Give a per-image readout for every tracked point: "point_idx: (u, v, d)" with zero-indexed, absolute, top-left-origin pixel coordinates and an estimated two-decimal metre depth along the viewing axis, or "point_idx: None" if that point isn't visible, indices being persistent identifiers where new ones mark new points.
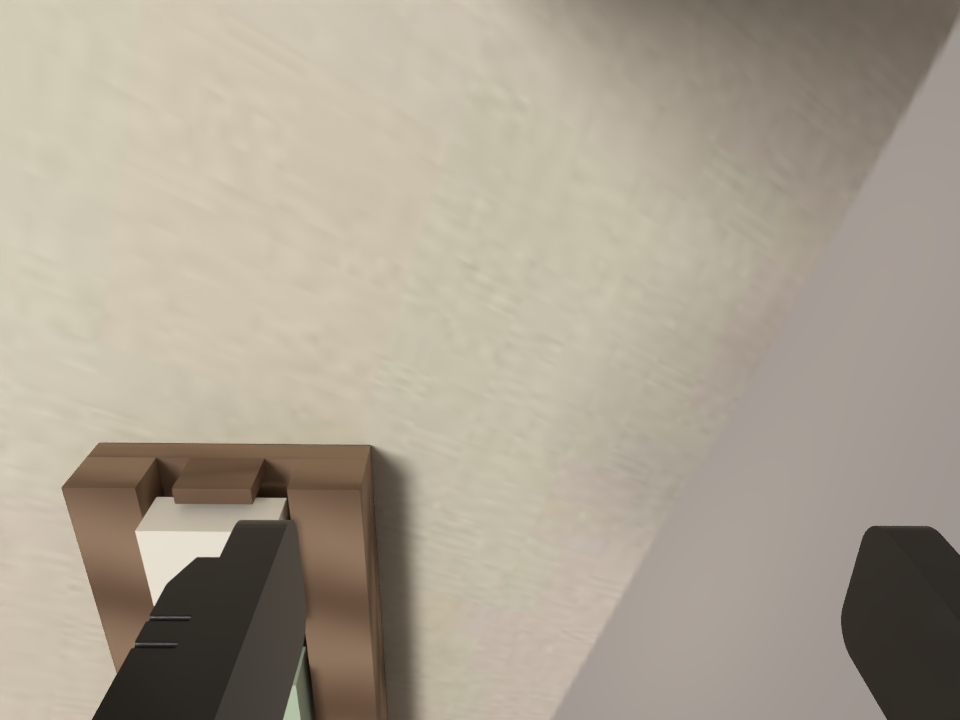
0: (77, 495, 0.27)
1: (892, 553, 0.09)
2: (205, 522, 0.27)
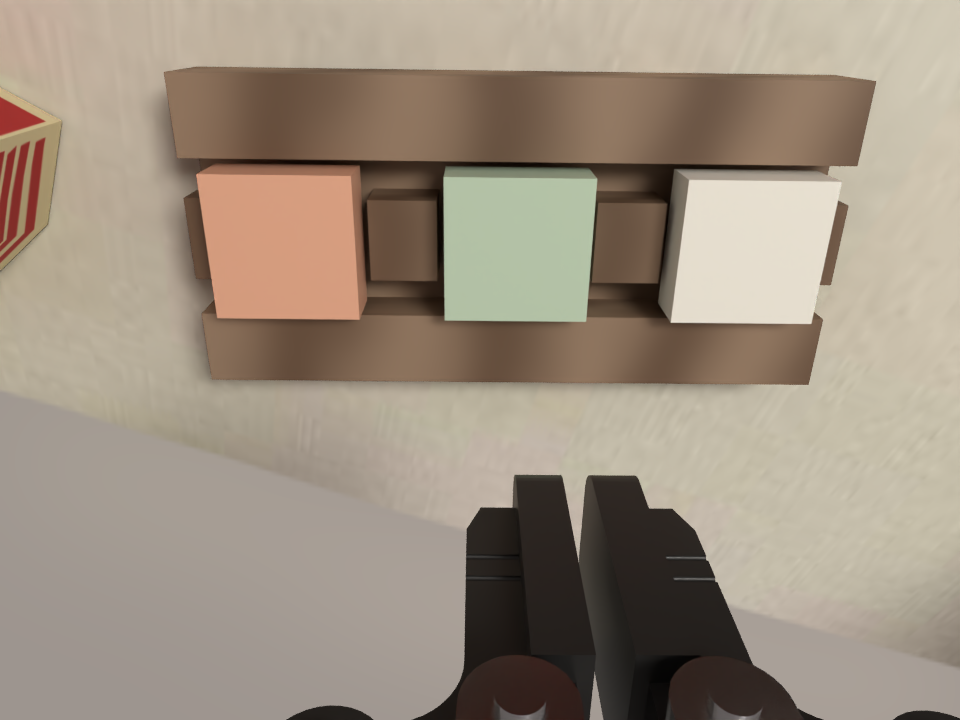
0: (860, 96, 0.24)
1: (592, 498, 0.11)
2: None
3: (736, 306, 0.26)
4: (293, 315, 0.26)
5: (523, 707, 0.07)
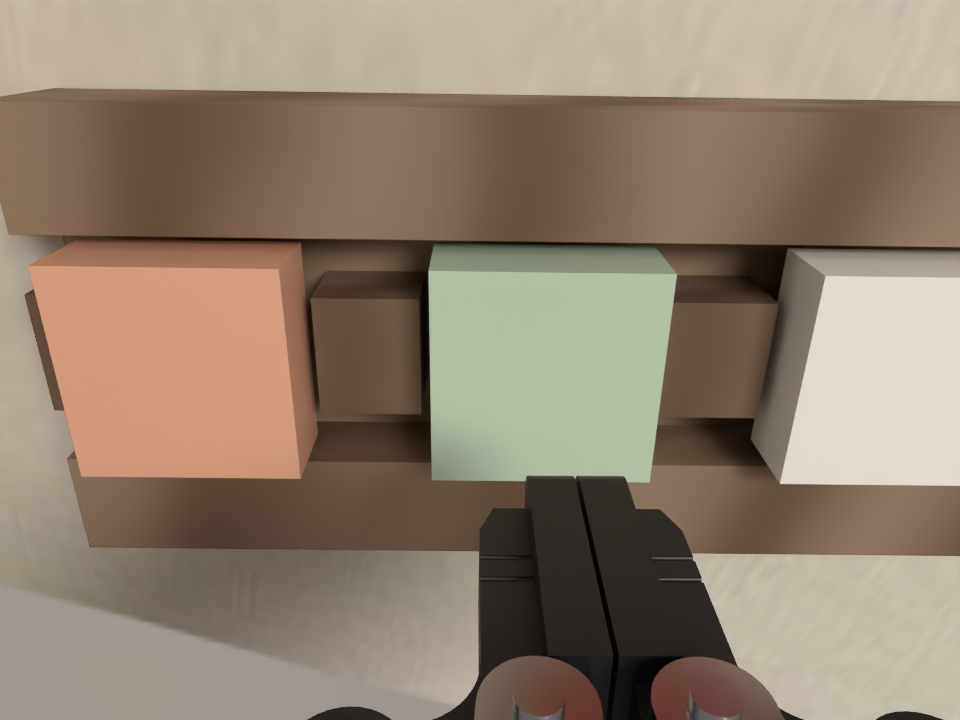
0: None
1: (580, 498, 0.10)
2: None
3: (883, 461, 0.17)
4: (198, 473, 0.17)
5: (542, 708, 0.07)
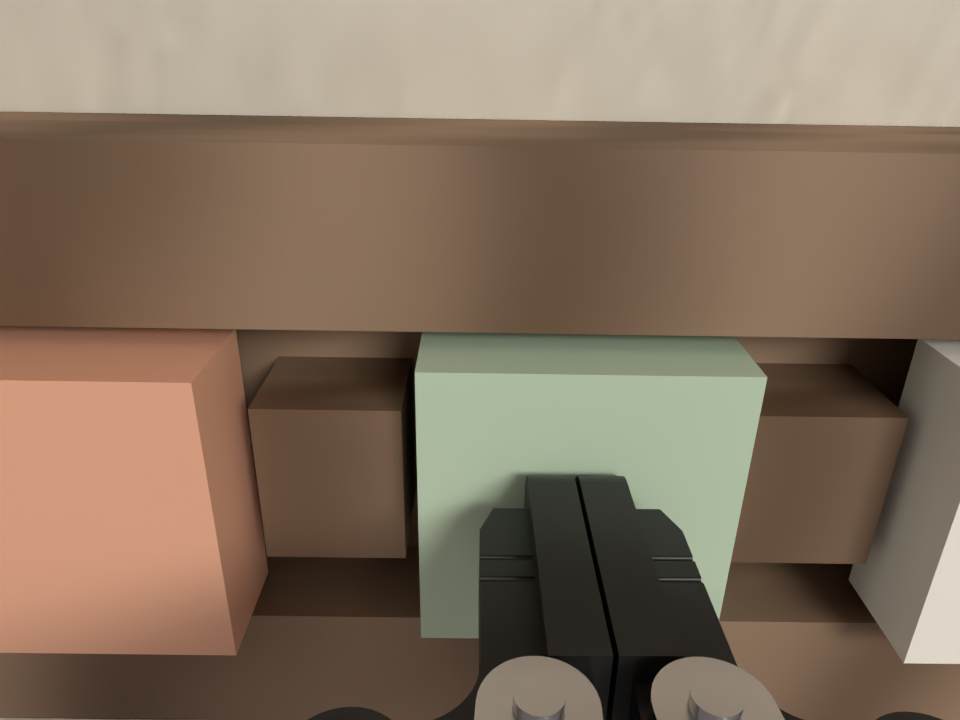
0: None
1: (580, 499, 0.10)
2: None
3: None
4: (93, 647, 0.12)
5: (542, 708, 0.07)
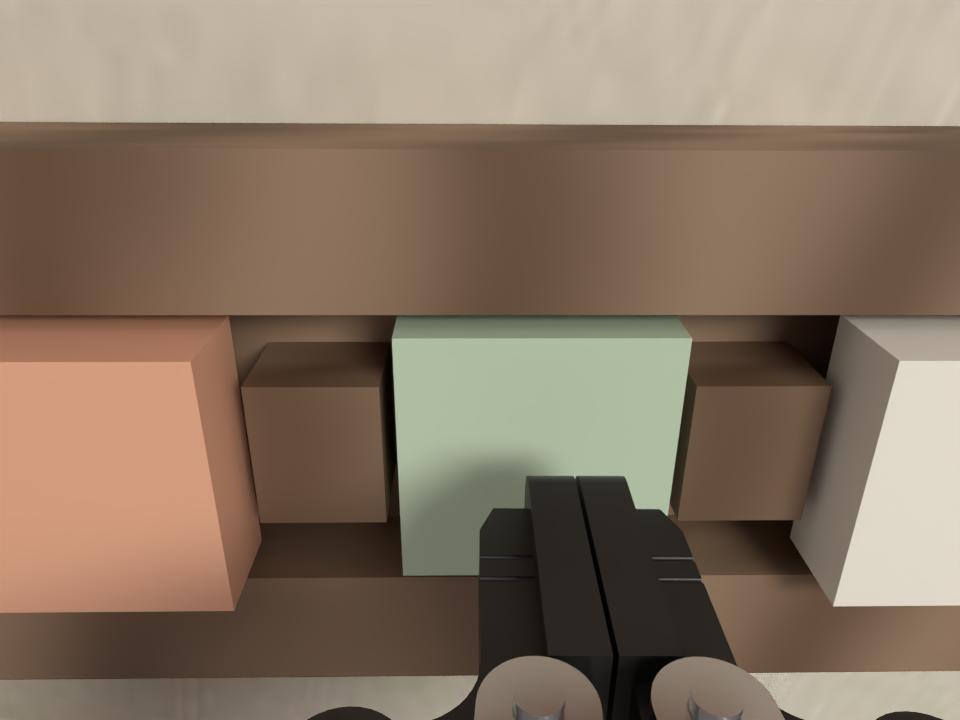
0: None
1: (580, 498, 0.10)
2: None
3: None
4: (104, 606, 0.13)
5: (542, 708, 0.07)
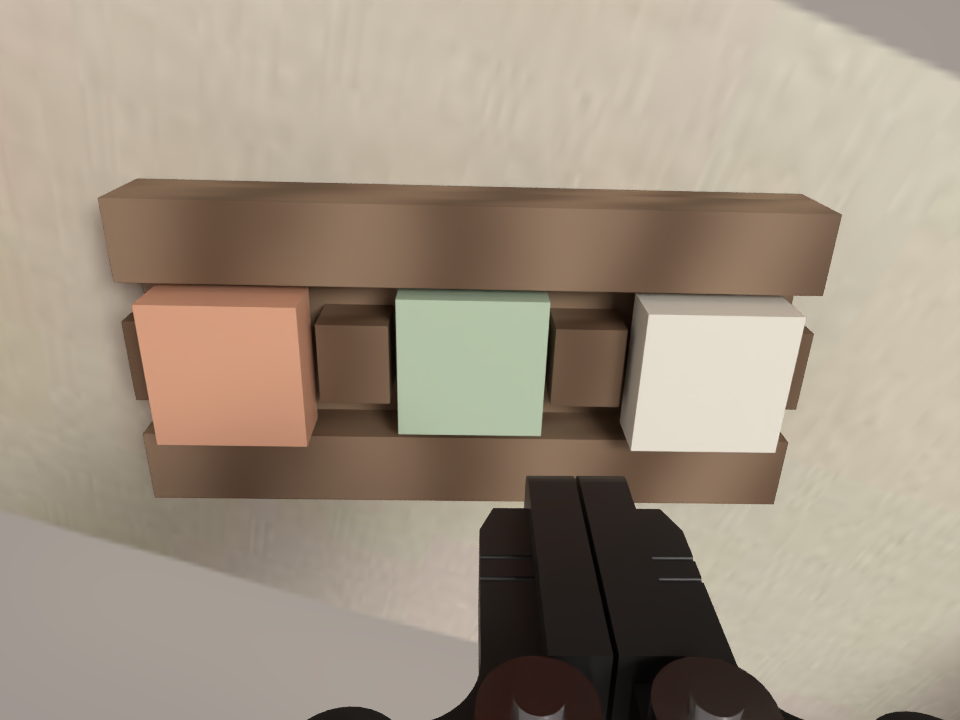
0: (825, 229, 0.23)
1: (580, 499, 0.10)
2: None
3: (698, 435, 0.25)
4: (237, 442, 0.25)
5: (542, 708, 0.07)
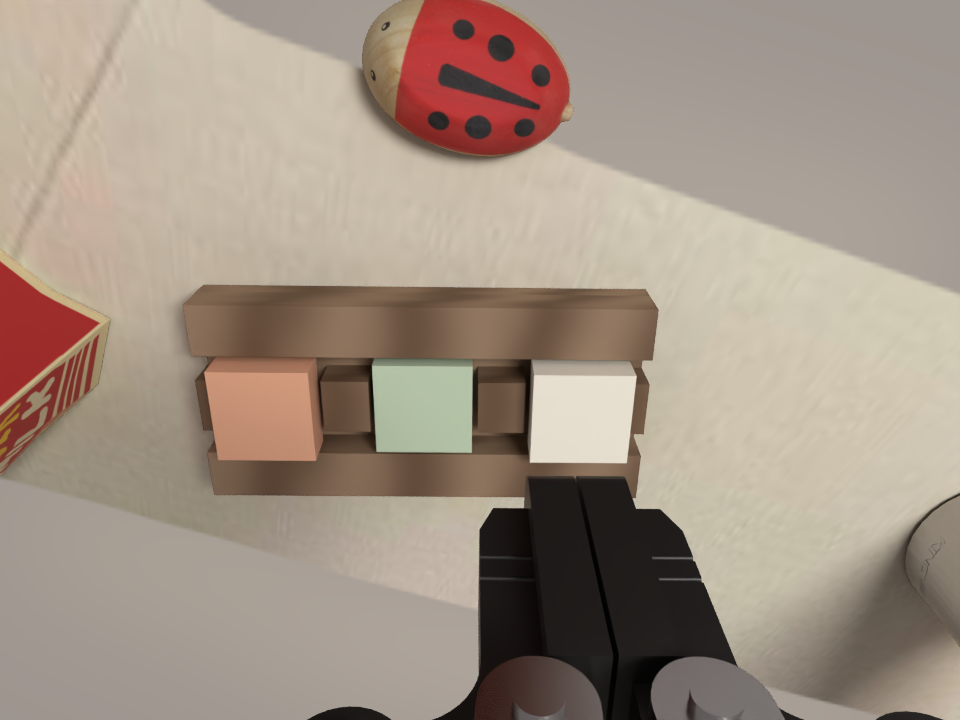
0: (649, 318, 0.36)
1: (580, 498, 0.10)
2: None
3: (574, 452, 0.38)
4: (270, 458, 0.38)
5: (543, 708, 0.07)
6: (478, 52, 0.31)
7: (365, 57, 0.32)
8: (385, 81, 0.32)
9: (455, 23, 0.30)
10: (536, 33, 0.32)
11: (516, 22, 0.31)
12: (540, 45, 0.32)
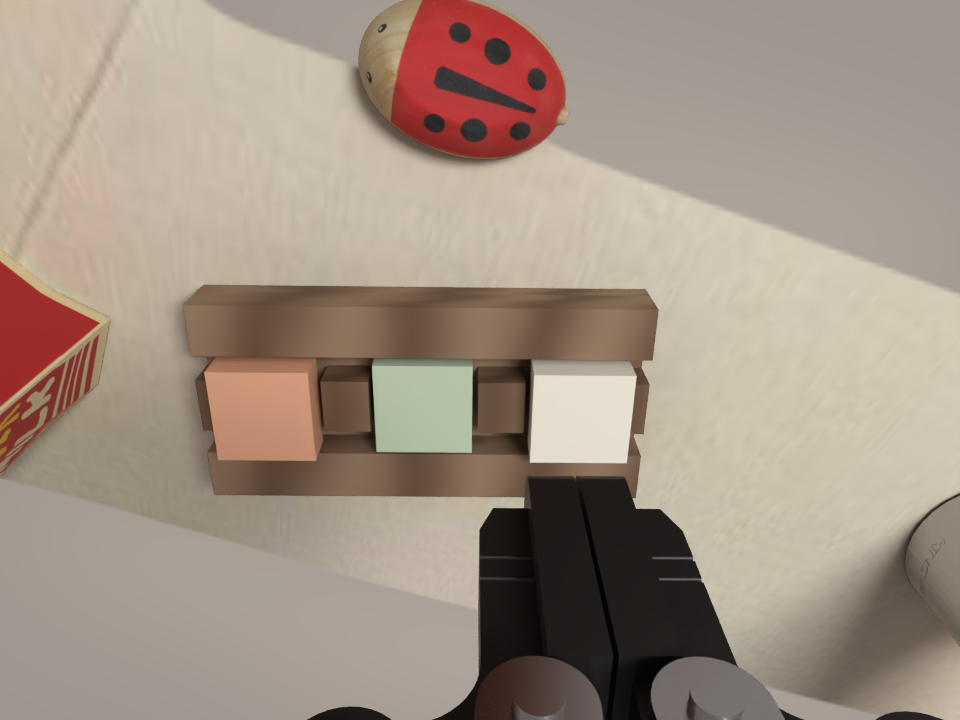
0: (649, 318, 0.36)
1: (580, 498, 0.10)
2: None
3: (574, 452, 0.38)
4: (270, 458, 0.38)
5: (542, 708, 0.07)
6: (474, 55, 0.31)
7: (361, 59, 0.32)
8: (380, 82, 0.32)
9: (452, 26, 0.30)
10: (533, 36, 0.32)
11: (513, 26, 0.31)
12: (536, 49, 0.32)
